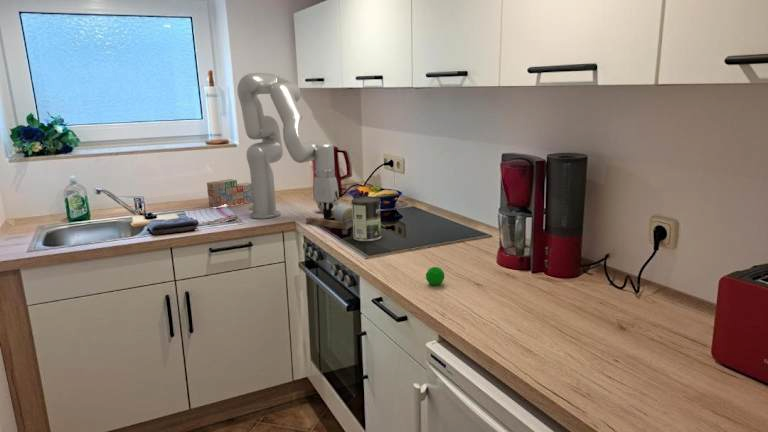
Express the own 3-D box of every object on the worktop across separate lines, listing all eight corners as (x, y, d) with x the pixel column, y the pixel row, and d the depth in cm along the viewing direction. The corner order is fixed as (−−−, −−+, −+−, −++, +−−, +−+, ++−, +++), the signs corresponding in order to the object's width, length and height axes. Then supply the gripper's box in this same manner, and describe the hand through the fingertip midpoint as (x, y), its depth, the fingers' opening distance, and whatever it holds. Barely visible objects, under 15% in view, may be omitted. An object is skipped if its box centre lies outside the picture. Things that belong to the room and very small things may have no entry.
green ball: (434, 289, 146) (434, 272, 145) (422, 284, 150) (422, 267, 149) (448, 284, 149) (448, 267, 147) (436, 279, 152) (436, 263, 151)
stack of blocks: (249, 200, 273) (247, 176, 270) (255, 202, 268) (253, 177, 265) (209, 207, 259) (206, 182, 256) (215, 209, 254) (212, 183, 251)
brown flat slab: (306, 223, 221) (305, 216, 220) (331, 215, 234) (331, 208, 233) (345, 229, 210) (345, 221, 209) (370, 220, 223) (369, 213, 223)
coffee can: (382, 233, 203) (381, 196, 199) (380, 241, 193) (379, 202, 189) (354, 234, 203) (353, 196, 200) (351, 241, 193) (349, 202, 190)
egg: (314, 212, 241) (313, 193, 239) (328, 209, 245) (327, 191, 243) (323, 215, 236) (322, 196, 234) (337, 212, 240) (336, 193, 238)
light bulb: (343, 226, 214) (343, 207, 213) (332, 223, 221) (332, 204, 219) (366, 222, 221) (365, 204, 219) (354, 219, 227) (354, 201, 225)
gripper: (305, 174, 221) (307, 218, 226) (334, 176, 213) (336, 222, 218) (317, 171, 228) (319, 214, 232) (345, 173, 220) (347, 218, 224)
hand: (327, 218), depth 225 cm, fingers closed
